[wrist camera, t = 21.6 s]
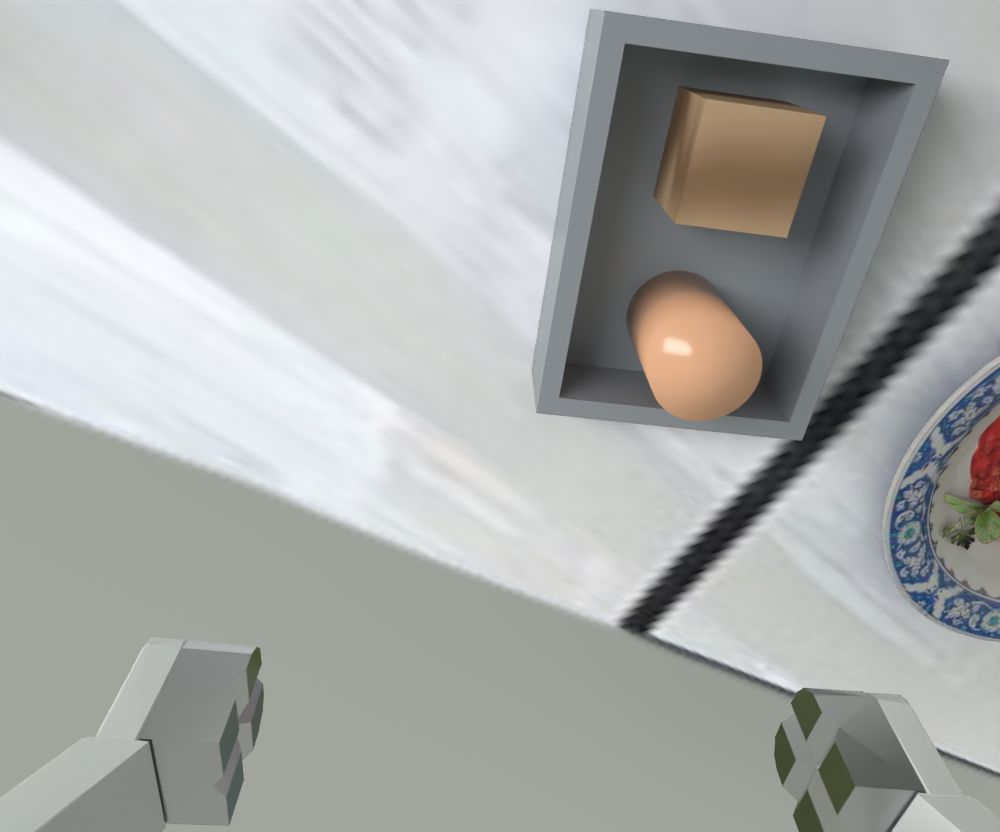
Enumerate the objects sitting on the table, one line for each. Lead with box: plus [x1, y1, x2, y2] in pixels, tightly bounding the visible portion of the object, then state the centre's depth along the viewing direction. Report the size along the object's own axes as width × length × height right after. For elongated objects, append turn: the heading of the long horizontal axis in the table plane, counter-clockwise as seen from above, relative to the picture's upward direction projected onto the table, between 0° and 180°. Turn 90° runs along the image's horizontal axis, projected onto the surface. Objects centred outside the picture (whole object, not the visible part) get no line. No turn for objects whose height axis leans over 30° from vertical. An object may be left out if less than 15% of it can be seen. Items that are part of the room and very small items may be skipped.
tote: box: [532, 9, 949, 441], centre depth 35 cm, size 18×14×5 cm
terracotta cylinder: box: [626, 270, 762, 421], centre depth 36 cm, size 5×5×7 cm
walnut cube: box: [653, 86, 827, 238], centre depth 32 cm, size 5×5×5 cm
